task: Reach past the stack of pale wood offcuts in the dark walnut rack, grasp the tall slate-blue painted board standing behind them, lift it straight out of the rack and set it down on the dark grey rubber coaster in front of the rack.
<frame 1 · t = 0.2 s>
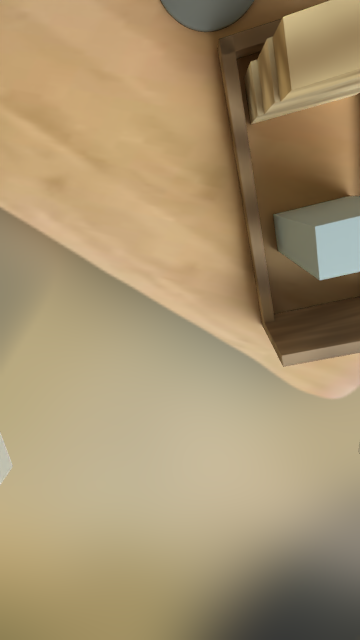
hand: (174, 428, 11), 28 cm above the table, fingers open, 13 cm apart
rack: (309, 190, 34), on the table
offcut c: (332, 52, 23), point 8 cm above the table, touching offcut b
tall board: (312, 224, 35), resting in rack
offcut a: (299, 86, 30), resting in rack, touching offcut b
offcut b: (314, 71, 27), point 4 cm above the table, touching offcut a, offcut c
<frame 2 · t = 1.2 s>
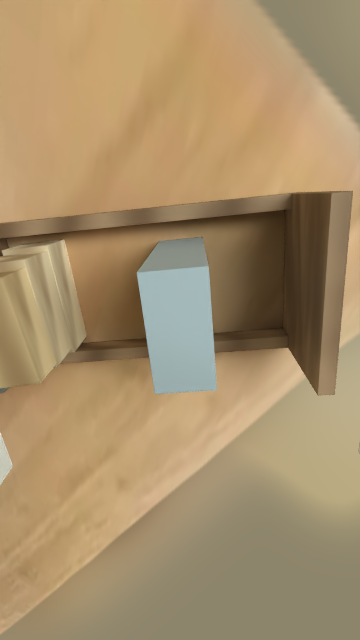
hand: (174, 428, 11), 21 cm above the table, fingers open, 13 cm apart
rack: (149, 283, 31), on the table
offcut c: (17, 321, 25), point 8 cm above the table, touching offcut b
tall board: (184, 280, 31), resting in rack
offcut a: (57, 291, 32), resting in rack, touching offcut b
offcut b: (39, 303, 29), point 4 cm above the table, touching offcut a, offcut c
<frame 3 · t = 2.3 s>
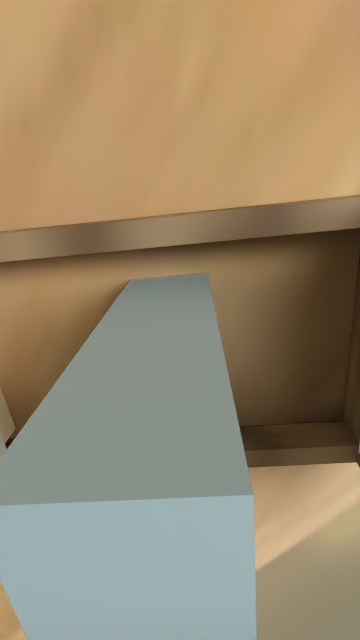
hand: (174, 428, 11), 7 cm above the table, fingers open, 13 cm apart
rack: (115, 350, 18), on the table
tall board: (176, 346, 18), resting in rack
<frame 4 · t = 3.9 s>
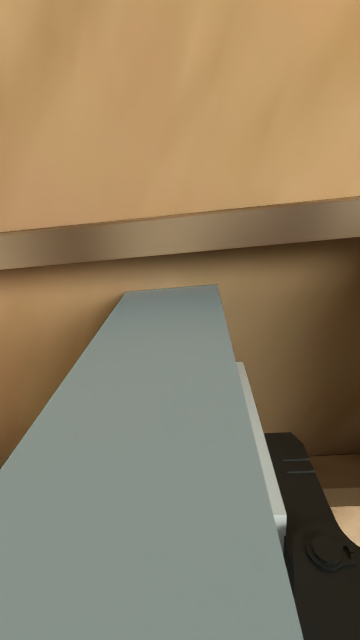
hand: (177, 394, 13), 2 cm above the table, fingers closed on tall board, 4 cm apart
rack: (108, 373, 16), on the table
tall board: (180, 368, 15), resting in rack, touching gripper
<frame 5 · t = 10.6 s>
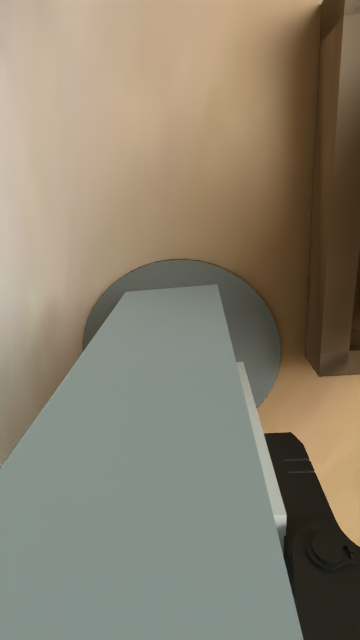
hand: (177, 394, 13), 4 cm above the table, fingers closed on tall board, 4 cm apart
coaster: (180, 355, 17), on the table
tall board: (180, 368, 15), point 1 cm above the table, touching gripper
when the fingers open (3 cm above the table, at t = 11.3 s): tall board stays where it is, resting on coaster.
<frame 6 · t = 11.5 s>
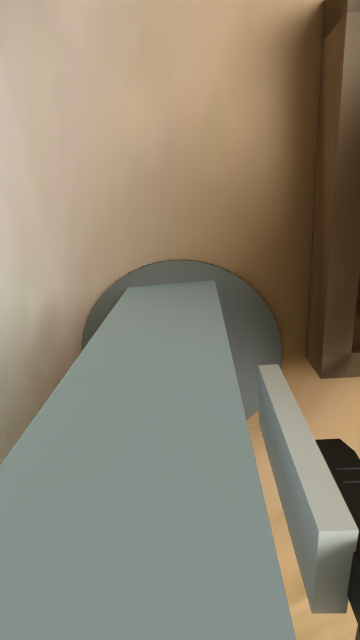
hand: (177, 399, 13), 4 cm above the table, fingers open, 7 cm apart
coaster: (181, 356, 16), on the table
tall board: (179, 360, 16), resting on coaster
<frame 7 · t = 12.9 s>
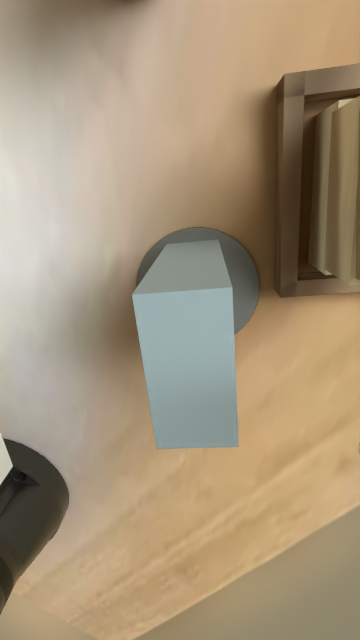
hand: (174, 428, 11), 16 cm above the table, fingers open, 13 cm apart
coaster: (197, 289, 26), on the table
tall board: (196, 291, 26), resting on coaster
offcut a: (339, 192, 23), resting in rack
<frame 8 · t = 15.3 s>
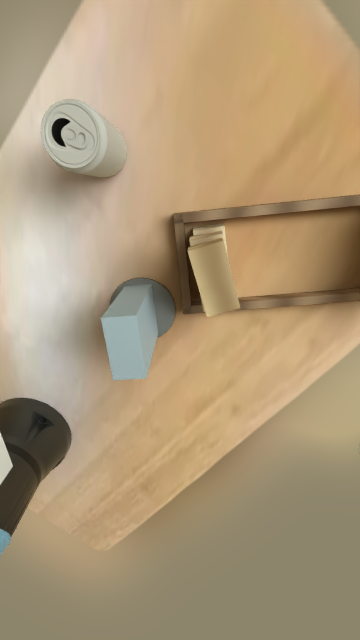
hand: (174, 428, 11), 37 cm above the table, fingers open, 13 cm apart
rack: (279, 255, 45), on the table
coaster: (142, 309, 49), on the table
offcut c: (213, 274, 39), point 8 cm above the table, touching offcut b
beverage can: (104, 151, 41), on the table
tall board: (141, 310, 49), resting on coaster
offcut a: (211, 261, 46), resting in rack, touching offcut b
offcut b: (211, 267, 42), point 4 cm above the table, touching offcut a, offcut c
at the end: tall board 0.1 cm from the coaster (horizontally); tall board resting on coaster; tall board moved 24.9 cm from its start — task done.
